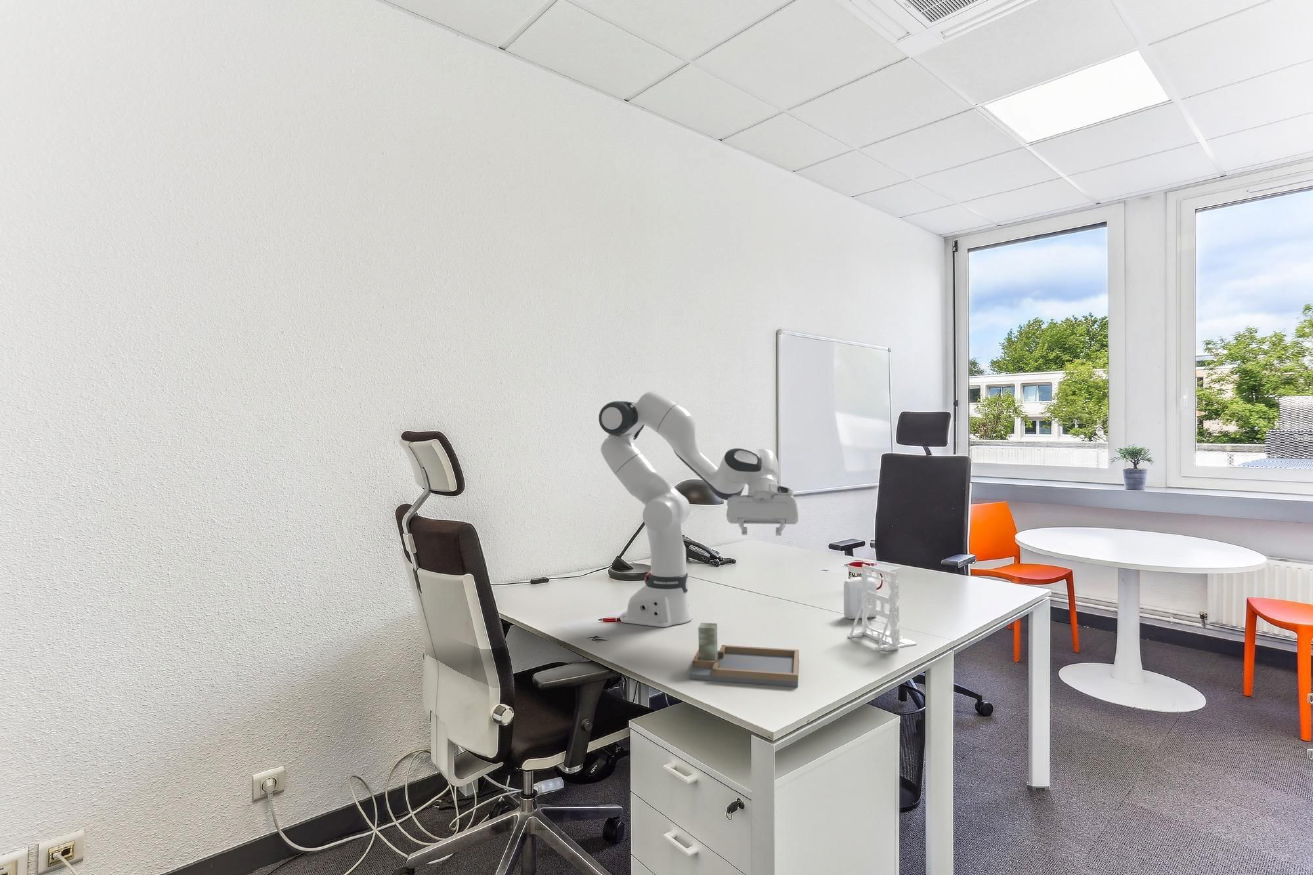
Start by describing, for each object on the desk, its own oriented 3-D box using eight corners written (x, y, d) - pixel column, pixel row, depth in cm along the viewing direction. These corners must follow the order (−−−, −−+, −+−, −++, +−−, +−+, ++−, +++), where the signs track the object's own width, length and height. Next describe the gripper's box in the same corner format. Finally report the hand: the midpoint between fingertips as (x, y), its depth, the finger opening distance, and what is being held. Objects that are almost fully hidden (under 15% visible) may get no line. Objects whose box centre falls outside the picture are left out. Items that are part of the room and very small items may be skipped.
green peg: (699, 664, 154) (698, 627, 154) (701, 658, 158) (701, 622, 158) (715, 665, 153) (714, 628, 153) (717, 659, 157) (716, 623, 157)
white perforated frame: (921, 645, 168) (920, 570, 168) (879, 652, 163) (878, 575, 163) (884, 630, 181) (883, 561, 181) (844, 636, 176) (843, 565, 176)
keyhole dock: (689, 678, 148) (688, 667, 148) (701, 654, 164) (700, 643, 164) (797, 686, 142) (797, 674, 142) (799, 660, 158) (798, 649, 158)
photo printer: (871, 613, 198) (870, 574, 198) (879, 617, 194) (878, 577, 194) (841, 616, 195) (841, 576, 195) (849, 620, 191) (848, 579, 191)
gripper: (726, 488, 185) (722, 526, 175) (797, 488, 180) (797, 527, 171) (728, 502, 189) (725, 540, 180) (798, 502, 184) (798, 541, 175)
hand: (761, 534), depth 175 cm, fingers open, 8 cm apart
